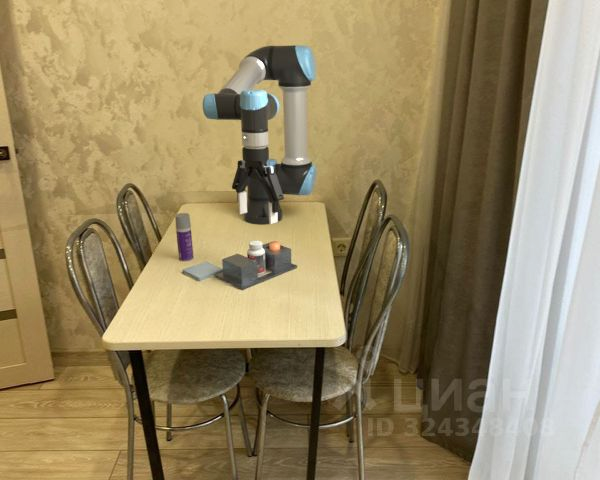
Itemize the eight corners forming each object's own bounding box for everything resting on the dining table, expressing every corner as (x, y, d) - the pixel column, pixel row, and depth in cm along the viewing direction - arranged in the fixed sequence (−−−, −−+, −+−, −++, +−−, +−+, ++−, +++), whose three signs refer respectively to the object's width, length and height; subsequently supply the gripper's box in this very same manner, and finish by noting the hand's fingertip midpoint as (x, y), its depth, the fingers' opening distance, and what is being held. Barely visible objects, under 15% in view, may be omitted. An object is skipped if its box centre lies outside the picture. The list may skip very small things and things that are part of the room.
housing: (269, 256, 179) (268, 239, 177) (297, 267, 170) (297, 250, 168) (215, 276, 164) (213, 258, 162) (242, 290, 156) (241, 271, 154)
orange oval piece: (275, 255, 174) (274, 240, 172) (282, 258, 171) (282, 243, 170) (267, 258, 171) (266, 243, 170) (274, 261, 169) (274, 246, 167)
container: (190, 262, 175) (186, 217, 170) (176, 260, 176) (172, 217, 171) (195, 256, 180) (192, 213, 174) (182, 255, 181) (178, 212, 175)
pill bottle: (247, 276, 165) (246, 246, 161) (248, 269, 170) (247, 239, 166) (265, 275, 165) (264, 245, 161) (265, 268, 170) (264, 239, 166)
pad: (206, 264, 174) (206, 261, 173) (223, 272, 168) (223, 269, 167) (182, 272, 168) (182, 269, 167) (199, 281, 162) (199, 277, 161)
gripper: (217, 142, 160) (221, 212, 167) (275, 154, 143) (277, 230, 151) (237, 139, 165) (240, 206, 172) (295, 150, 149) (296, 223, 156)
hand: (257, 217), depth 162 cm, fingers open, 13 cm apart
